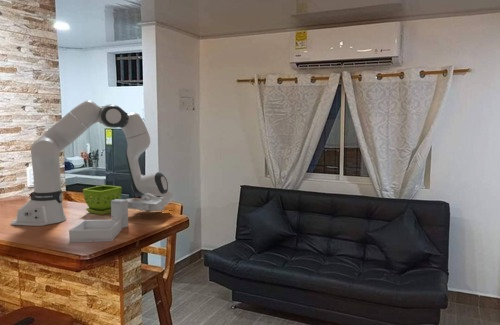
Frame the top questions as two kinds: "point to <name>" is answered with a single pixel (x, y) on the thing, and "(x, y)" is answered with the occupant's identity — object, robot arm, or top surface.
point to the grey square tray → (95, 230)
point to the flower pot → (101, 198)
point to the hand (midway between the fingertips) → (132, 208)
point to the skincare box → (120, 211)
